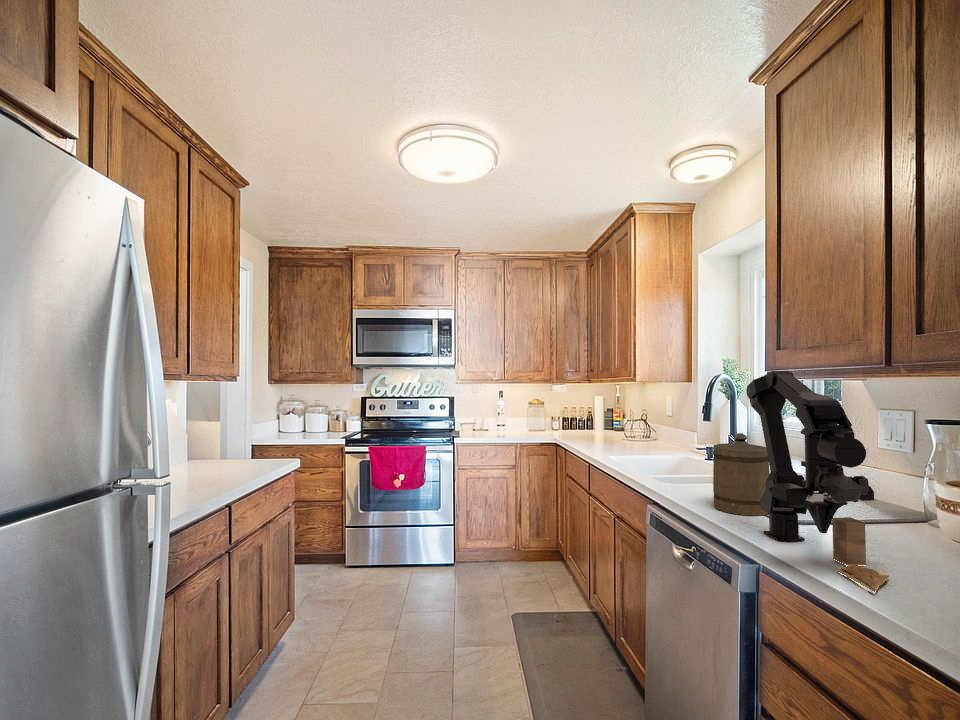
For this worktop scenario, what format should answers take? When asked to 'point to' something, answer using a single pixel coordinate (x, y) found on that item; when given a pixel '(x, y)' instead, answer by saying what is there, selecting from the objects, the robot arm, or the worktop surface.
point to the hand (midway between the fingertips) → (822, 532)
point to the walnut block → (849, 541)
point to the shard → (865, 576)
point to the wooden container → (739, 476)
